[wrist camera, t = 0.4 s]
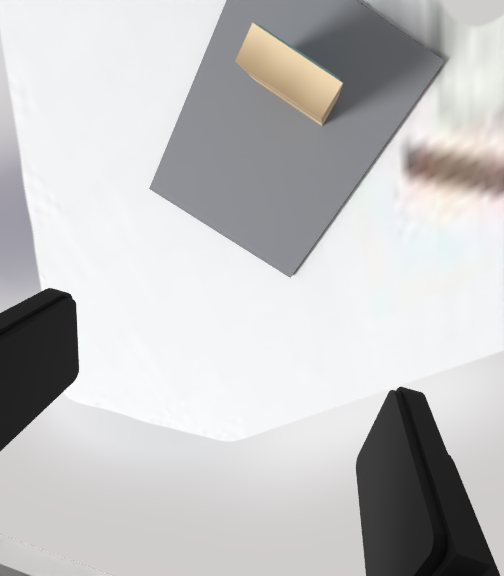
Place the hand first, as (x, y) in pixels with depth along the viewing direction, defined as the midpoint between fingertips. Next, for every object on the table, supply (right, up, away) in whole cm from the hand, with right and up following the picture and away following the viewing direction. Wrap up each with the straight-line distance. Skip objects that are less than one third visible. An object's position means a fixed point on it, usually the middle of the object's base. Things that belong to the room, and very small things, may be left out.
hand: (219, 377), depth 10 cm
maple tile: (+5, +21, +21) cm, 30 cm away
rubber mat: (+3, +18, +24) cm, 30 cm away
